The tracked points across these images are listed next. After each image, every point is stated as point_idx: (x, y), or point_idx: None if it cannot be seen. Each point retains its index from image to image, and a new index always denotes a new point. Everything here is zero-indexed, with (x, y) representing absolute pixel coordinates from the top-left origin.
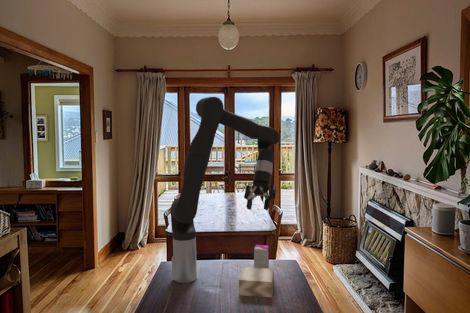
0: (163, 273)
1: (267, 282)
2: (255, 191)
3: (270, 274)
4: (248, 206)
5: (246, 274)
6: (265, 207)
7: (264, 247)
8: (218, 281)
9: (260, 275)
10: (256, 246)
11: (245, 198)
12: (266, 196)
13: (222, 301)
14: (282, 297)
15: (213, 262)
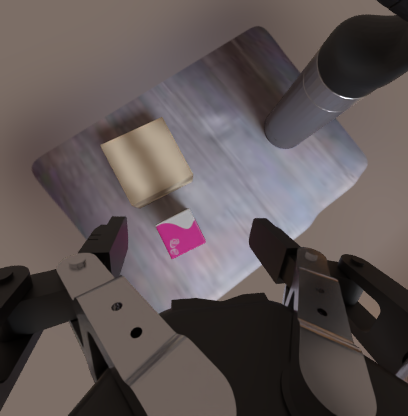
0: (331, 123)
1: (109, 141)
2: (288, 327)
3: (121, 174)
4: (260, 222)
5: (164, 146)
6: (111, 221)
7: (172, 235)
8: (228, 153)
9: (136, 158)
10: (194, 228)
11: (341, 259)
12: (78, 277)
13: (174, 99)
14: (96, 166)
15: (296, 217)
